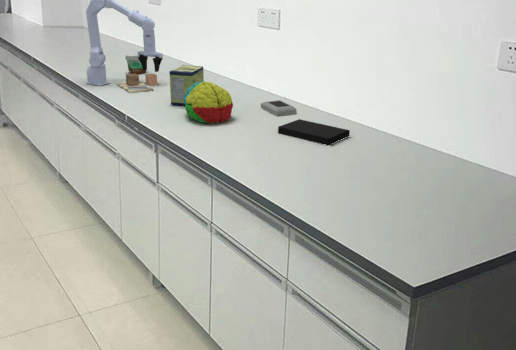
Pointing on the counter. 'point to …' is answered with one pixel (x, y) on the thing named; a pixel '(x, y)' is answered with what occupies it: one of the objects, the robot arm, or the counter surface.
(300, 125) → the black microchip
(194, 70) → the protein box
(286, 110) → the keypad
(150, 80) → the terracotta block
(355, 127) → the counter surface
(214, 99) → the brain model
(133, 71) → the food container
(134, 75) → the baseplate
